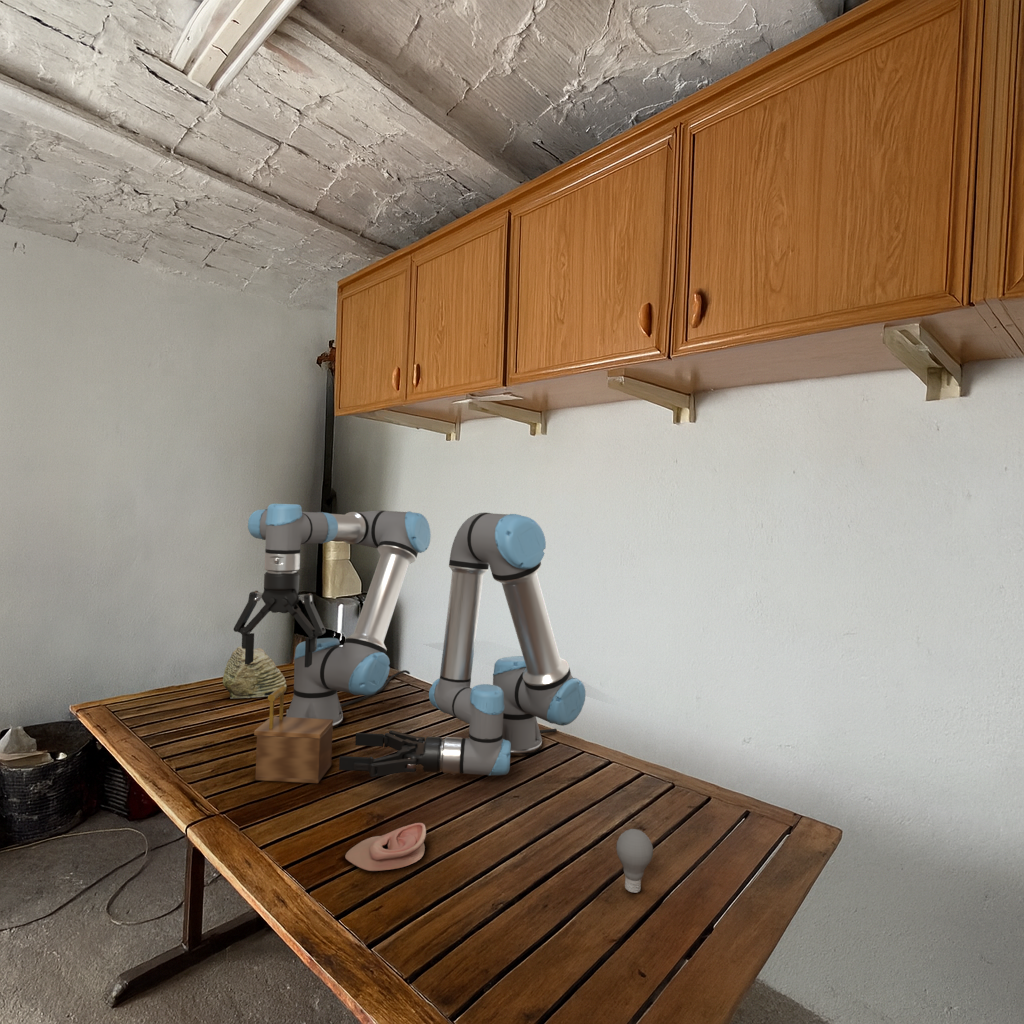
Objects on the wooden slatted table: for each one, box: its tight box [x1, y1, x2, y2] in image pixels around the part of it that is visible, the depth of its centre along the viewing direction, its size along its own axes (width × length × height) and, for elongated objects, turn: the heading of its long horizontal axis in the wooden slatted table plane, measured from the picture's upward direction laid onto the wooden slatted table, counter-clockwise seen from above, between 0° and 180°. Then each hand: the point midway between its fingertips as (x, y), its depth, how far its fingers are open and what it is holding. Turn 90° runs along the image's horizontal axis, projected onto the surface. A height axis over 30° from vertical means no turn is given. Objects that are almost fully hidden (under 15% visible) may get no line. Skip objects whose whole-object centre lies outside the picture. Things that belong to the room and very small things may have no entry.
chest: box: [255, 724, 334, 784], centre depth 145 cm, size 14×9×10 cm
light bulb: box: [615, 828, 654, 894], centre depth 106 cm, size 6×6×10 cm
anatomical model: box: [344, 822, 427, 872], centre depth 113 cm, size 13×4×12 cm
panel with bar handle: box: [253, 686, 333, 739], centre depth 144 cm, size 15×9×9 cm, turn 89°
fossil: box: [222, 646, 288, 699], centre depth 198 cm, size 9×18×15 cm, turn 132°
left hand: (278, 664), depth 144 cm, fingers open, 13 cm apart
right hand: (348, 750), depth 143 cm, fingers open, 13 cm apart
